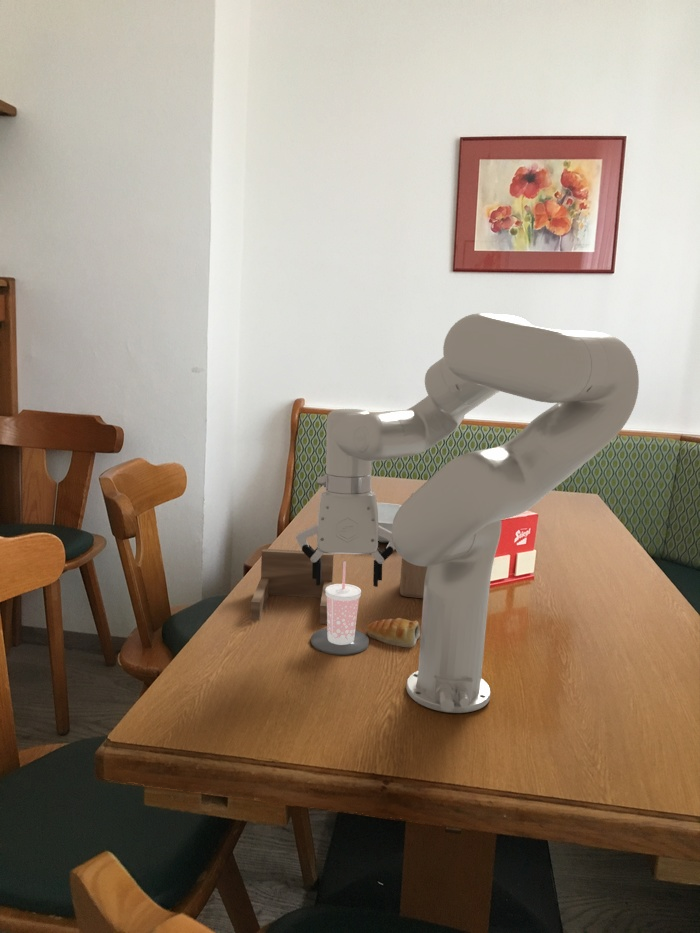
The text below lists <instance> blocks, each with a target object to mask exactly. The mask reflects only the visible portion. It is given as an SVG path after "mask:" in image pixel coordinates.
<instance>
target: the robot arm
mask: <svg viewBox="0 0 700 933" xmlns="http://www.w3.org/2000/svg"><path fill="white" fill-rule="evenodd" d="M442 348H443V349H442V350H443V357H442V358H440V359H439V360H437V361H436V362H435V363H433V364H432V365H430V367H429V368H428V369H427V370H426V373H425V376H424V386H425V390H426V392H427V393H426V394H427V396H426V397H424V398H422V399H421V400H420V401H418V402H417V403H416V404H414V405H413V406H411V407H410V408H407V409H402V410H399V409H398V410H390V411H389V410H388V411H381V412H380V411H379V412H369V411H367V410H364V409H354V408H341V409H333V410H332V411H329V413H328V414H327V418H326V443H325V444H326V454H325V455H326V457H325V458H326V460H325V473H326V474H324V475H322V476H317V479H316V481H317V482H316V484H317V485H318V486H322V487H323V488H325V490H323V491H322V492H321V493H320V497H319V502H318V503H319V504H318V514H317V523H316V524H315V525H313V526H310V527H308V528H306V529H305V530H302V531H299V532H297V534H296V536H295V539H296V541H297V543H298V544H299V547H300V548H301V551H303V552H304V553H305V554H306V555H307V556H308V557H309V558H310V559H311V561H312V579H316V585H318V586H319V585H320V584H321V567H322V559H320V557H321V556H322V555H323V554H324V553H330V554H335V555H338V554H339V555H341V554H342V555H371V556H372V557H373V559H374V560H373V572H372V573H373V575H372V576H373V577H372V578H373V579H372V580H373V586H374V588H377V587H378V586H379V581H382V580H383V564H384V563H385V561H386V560H387V559H388V558H389V557H390V556H391V555H393V553H394V551H395V550H396V553H397V554H398V555H399V556H400V558H401V559H402V558H403V559H404V560H406V561H407V562H409V563H411V564H414V565H417V566H424V567H425V566H428V567H427V571H426V576H425V583H424V595H423V598H422V610H421V612H422V613H421V626H420V637H419V638H420V640H419V650H418V651H419V653H418V654H419V655H418V669H417V671H414V672H413V673H411V674H410V675H409V677H408V678H407V681H406V691H407V694H408V695H409V697H410V698H411V699H412V700H414V702H416V703H417V704H419V705H421V706H423V707H426V708H428V709H431V710H434V711H437V712H443V713H451V714H463V713H465V714H466V713H470V712H474V711H478V710H481V709H482V708H484V707H485V706H486V705H487V704H489V703H490V702H489V701H490V699H491V688H490V686H489V684H488V683H487V682H486V681H485V680H484V679H483V678H482V672H483V665H484V664H483V661H484V653H485V639H486V628H487V620H488V619H487V618H488V607H489V606H488V605H489V599H490V587H491V578H492V571H493V566H494V562H495V561H494V560H495V558H496V557H495V556H496V553H497V550H498V546H499V544H500V538H501V533H502V520H506V519H509V518H513V517H516V516H518V515H521V514H523V513H525V512H528V511H529V510H530V509H531V508H532V507H534V506H535V505H536V504H537V503H539V501H541V500H542V499H543V498H544V497H545V496H547V495H548V494H549V493H550V492H552V491H553V490H554V489H556V488H557V487H558V486H559V485H561V483H563V482H564V481H566V480H567V479H568V478H569V477H570V476H572V475H573V474H574V473H575V472H576V471H577V470H579V469H580V468H582V466H584V465H585V464H586V463H587V462H588V461H590V460H591V459H592V458H594V457H595V456H596V455H598V453H600V452H601V451H602V450H603V449H604V448H605V447H607V446H608V445H609V443H611V442H612V441H613V440H614V439H615V438H616V436H618V435H619V433H620V432H621V431H622V430H623V428H624V426H625V425H626V424H627V423H628V420H629V419H630V417H631V415H632V413H633V411H634V409H635V405H636V402H637V399H638V394H639V384H640V381H639V380H640V379H639V378H640V377H639V370H638V369H639V368H638V365H637V362H636V359H635V356H634V355H633V353H632V350H631V349H630V348H629V346H627V344H626V343H624V342H623V341H622V340H620V339H619V338H618V337H616V336H614V335H611V334H607V333H604V332H601V331H600V332H598V331H588V330H567V329H566V330H564V329H563V330H561V329H553V328H552V329H551V328H545V327H539V326H535V325H533V324H532V323H531V322H529V321H527V320H526V319H524V318H522V317H519V316H515V315H510V314H496V313H481V312H478V313H471V314H469V315H466V316H464V317H462V318H459V320H457V321H456V322H455V323H454V324H453V325H452V326H451V327H450V329H449V330H448V332H447V334H446V336H445V338H444V342H443V347H442ZM500 392H503V393H505V394H510V395H513V396H517V397H520V398H524V399H527V400H531V401H535V402H540V403H548V404H549V403H550V404H553V406H551V407H550V408H548V409H547V410H545V411H543V412H542V413H540V414H539V415H538V416H536V417H535V418H534V419H533V420H531V421H530V423H529V424H527V425H526V426H525V427H524V428H523V429H522V430H520V431H519V432H518V433H517V434H516V435H515V436H513V437H512V438H511V439H509V440H507V442H505V443H503V444H501V445H498V446H494V447H491V448H486V449H480V450H479V449H478V450H473V451H469V452H464V453H462V454H461V455H459V456H456V457H455V458H453V459H451V460H450V461H448V462H446V464H444V465H443V466H442V467H441V468H440V469H438V470H437V472H435V473H434V474H433V475H432V476H431V477H430V478H428V480H427V481H425V482H424V483H423V484H422V485H421V486H420V487H419V488H418V489H417V490H415V492H413V493H414V494H413V495H409V497H408V498H407V499H406V500H405V501H404V502H403V503H402V504H401V505H402V506H401V507H400V508H399V510H398V511H397V513H396V515H395V517H394V520H393V524H392V532H391V531H389V530H387V529H385V528H383V527H381V526H379V525H378V507H377V503H378V501H377V494H376V492H375V491H372V468H373V466H372V465H373V463H372V462H381V461H387V460H388V461H389V460H392V459H399V458H406V457H407V458H408V457H412V456H416V455H417V456H418V455H419V454H422V453H424V452H425V451H427V450H429V449H431V448H432V447H434V446H436V445H437V444H438V443H440V442H441V441H443V440H445V439H446V438H448V437H449V436H450V435H451V434H453V433H454V432H455V431H456V430H457V429H458V428H459V426H460V425H461V423H462V421H464V419H465V416H466V415H467V414H468V413H469V412H471V411H472V410H474V409H475V408H477V407H478V406H480V405H481V404H483V403H485V402H486V401H487V400H489V399H490V398H492V397H494V396H495V395H496V394H497V393H500ZM315 535H316V545H317V546H316V548H315V549H314V548H313V547H312V546H311V545H310V544H309V543H308V540H307V539H308V538H311V537H313V536H315ZM378 535H380V536H382V537H384V538H386V539H388V540H389V542H388V544H387V545H386V546H385V547H384V548H383V549H382V550H380V548H379V547H378V546H379V542H378Z"/></svg>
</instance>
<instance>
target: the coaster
mask: <svg viewBox="0 0 700 933" xmlns="http://www.w3.org/2000/svg"><path fill="white" fill-rule="evenodd" d="M369 640H370V639H369V637H368V636H367V635H366V633H365V632H362V631H360V630H357V629H355V636H354V641H353V642H352V643H350V644H347V645H338V644H334V643H331V642H330V641H328V636H327V627H325V628H322V629H319V630H317V631H315V632H314V633H312V634H311V637H310V644H311V645H312V647H313V648H315V649H316V650H317V651H320V652H322V653H325V654H330V655H337V656H348V655H349V656H350V655H356V654H359V653H361V652H364V651H366V650H367V649H368V647H369V644H370V641H369Z"/></svg>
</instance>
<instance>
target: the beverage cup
mask: <svg viewBox="0 0 700 933" xmlns="http://www.w3.org/2000/svg"><path fill="white" fill-rule="evenodd" d="M342 565H343V566H342V580H341V581H342V583H334V584H333V583H332V585H330V586H328V587H326V589H325V591H326V593H325V594H326V596H327V624H326V626H327V627H326V628H327V636H328V641H330V642H331V643H334V644H338V645H347V644H350V643H352V642H353V641H354V636H355V630H356V628H357V626H356V625H357V619H358V617H357V616H358V611H359V610H358V609H359V602H360V598H361V595H362V594H361V593H362V590H361V588H360V587H358V586H356V585H353V584H351V583H350V584H349V583H346V574H347V573H346V569H347V568H346V567H347V561H343V563H342Z"/></svg>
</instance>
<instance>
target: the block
mask: <svg viewBox="0 0 700 933" xmlns="http://www.w3.org/2000/svg"><path fill="white" fill-rule="evenodd" d="M414 493H415V492H412V493H411V495H413V494H414ZM411 495H410V496H411ZM400 565H401V567H400V578H399V579H400V580H399V582H400V583H399V593H400V595H401V596H402V597H408V598H415V599H417V598H418V599H423V595H424V583H425V576H426V571H427V567H428V566H425V567H424V566H417V565H414V564H411V563H409V562H407V561H406V560H404V559H403V558H402V557H401V564H400Z"/></svg>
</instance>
